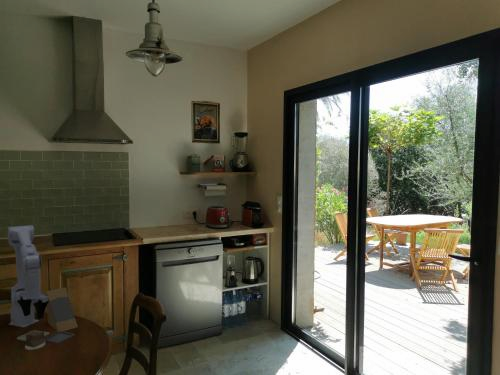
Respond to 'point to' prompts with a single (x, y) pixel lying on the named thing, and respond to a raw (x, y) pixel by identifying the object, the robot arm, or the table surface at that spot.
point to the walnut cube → (35, 338)
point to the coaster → (34, 347)
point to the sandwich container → (60, 310)
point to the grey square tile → (59, 337)
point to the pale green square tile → (29, 332)
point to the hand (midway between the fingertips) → (33, 316)
